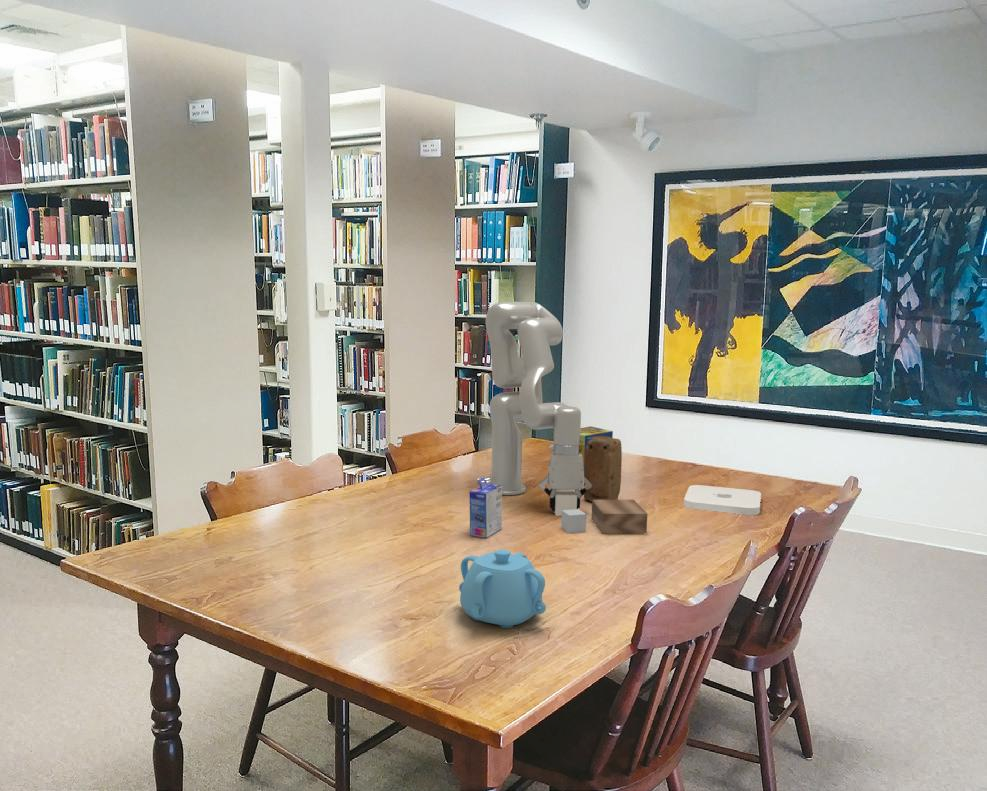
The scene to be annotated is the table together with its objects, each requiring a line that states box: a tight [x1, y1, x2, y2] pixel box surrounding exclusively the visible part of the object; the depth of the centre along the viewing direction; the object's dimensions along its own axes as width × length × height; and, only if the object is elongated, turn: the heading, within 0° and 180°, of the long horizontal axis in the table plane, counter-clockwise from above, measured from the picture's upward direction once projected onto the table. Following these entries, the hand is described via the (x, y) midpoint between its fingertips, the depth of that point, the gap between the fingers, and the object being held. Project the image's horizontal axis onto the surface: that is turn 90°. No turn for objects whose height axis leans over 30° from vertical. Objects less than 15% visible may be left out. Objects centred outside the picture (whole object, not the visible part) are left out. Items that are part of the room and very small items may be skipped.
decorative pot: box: [458, 548, 547, 629], centre depth 164 cm, size 16×16×14 cm
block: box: [583, 436, 623, 503], centre depth 250 cm, size 11×8×20 cm
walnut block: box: [591, 499, 648, 535], centre depth 226 cm, size 12×14×6 cm
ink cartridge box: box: [469, 476, 503, 539], centre depth 218 cm, size 10×6×14 cm, turn 155°
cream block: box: [553, 490, 577, 517], centre depth 238 cm, size 6×6×6 cm
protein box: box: [580, 425, 614, 477], centre depth 286 cm, size 10×15×16 cm
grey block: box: [560, 508, 587, 534], centre depth 223 cm, size 5×5×5 cm
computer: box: [683, 484, 762, 516], centre depth 253 cm, size 22×22×3 cm
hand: (564, 509), depth 239 cm, fingers closed on cream block, 6 cm apart
